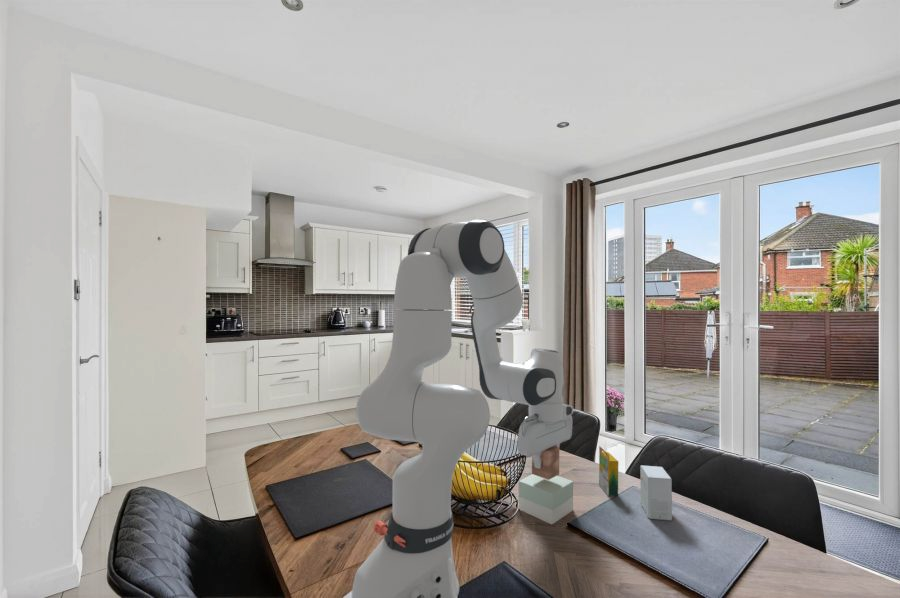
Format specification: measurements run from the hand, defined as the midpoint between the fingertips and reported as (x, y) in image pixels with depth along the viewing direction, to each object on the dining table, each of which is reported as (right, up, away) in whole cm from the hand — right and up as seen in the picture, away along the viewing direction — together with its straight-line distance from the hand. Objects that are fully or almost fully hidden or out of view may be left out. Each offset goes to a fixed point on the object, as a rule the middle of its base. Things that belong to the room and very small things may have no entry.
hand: (545, 463), depth 108 cm
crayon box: (+21, -12, +12) cm, 27 cm away
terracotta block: (0, -3, 0) cm, 3 cm away
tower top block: (0, -9, 0) cm, 9 cm away
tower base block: (0, -13, +1) cm, 13 cm away
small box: (+28, -13, -1) cm, 31 cm away
